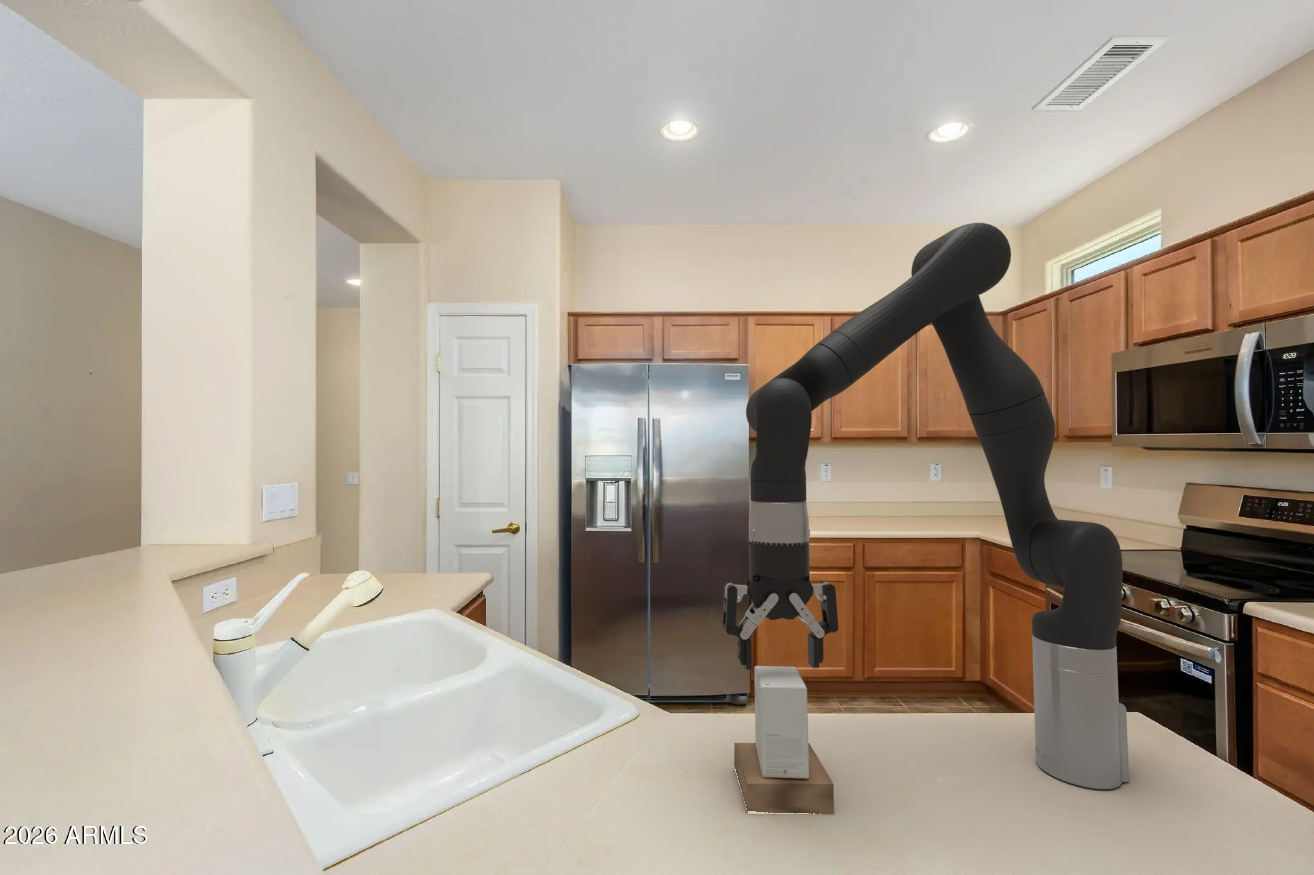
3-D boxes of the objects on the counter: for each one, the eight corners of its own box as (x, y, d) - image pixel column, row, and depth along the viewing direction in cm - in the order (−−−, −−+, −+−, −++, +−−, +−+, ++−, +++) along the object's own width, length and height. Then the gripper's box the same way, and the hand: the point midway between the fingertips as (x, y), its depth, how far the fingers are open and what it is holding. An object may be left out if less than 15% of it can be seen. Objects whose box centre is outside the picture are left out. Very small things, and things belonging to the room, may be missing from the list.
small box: (809, 781, 66) (808, 688, 67) (761, 778, 67) (760, 686, 68) (798, 748, 74) (797, 665, 75) (754, 746, 75) (754, 664, 76)
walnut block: (809, 774, 76) (809, 743, 76) (833, 819, 66) (833, 783, 66) (734, 774, 76) (734, 742, 76) (747, 819, 66) (747, 783, 66)
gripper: (822, 533, 77) (824, 656, 76) (718, 534, 76) (719, 658, 75) (844, 540, 69) (847, 676, 68) (729, 541, 69) (730, 679, 68)
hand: (780, 667), depth 72 cm, fingers open, 8 cm apart
